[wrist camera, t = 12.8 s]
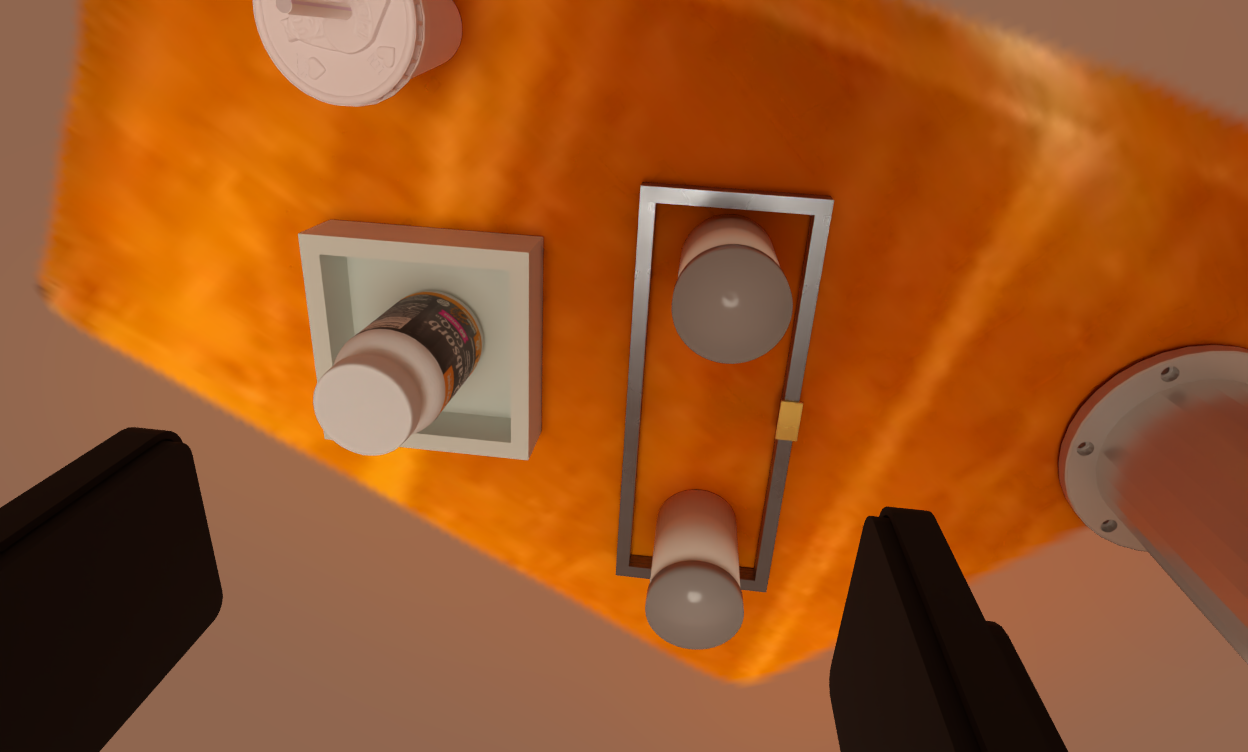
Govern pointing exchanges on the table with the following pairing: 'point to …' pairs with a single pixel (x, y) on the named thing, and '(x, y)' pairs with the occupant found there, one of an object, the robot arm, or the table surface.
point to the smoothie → (357, 44)
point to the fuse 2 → (695, 572)
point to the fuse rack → (795, 368)
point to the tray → (461, 267)
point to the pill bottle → (398, 373)
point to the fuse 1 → (730, 291)
